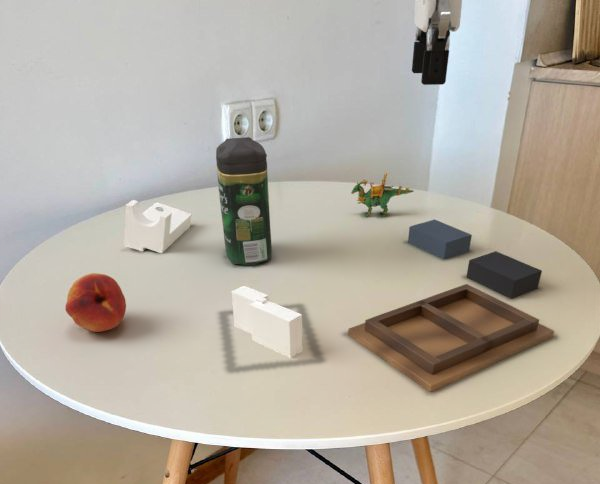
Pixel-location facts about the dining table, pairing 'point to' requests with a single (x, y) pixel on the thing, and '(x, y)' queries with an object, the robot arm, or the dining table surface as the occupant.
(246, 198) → the coffee jar
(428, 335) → the wooden tray
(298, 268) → the dining table surface
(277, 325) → the white stepped block
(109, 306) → the fruit
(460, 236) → the pad front
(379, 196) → the figurine
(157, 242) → the bracket
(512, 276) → the pad near
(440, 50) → the robot arm
